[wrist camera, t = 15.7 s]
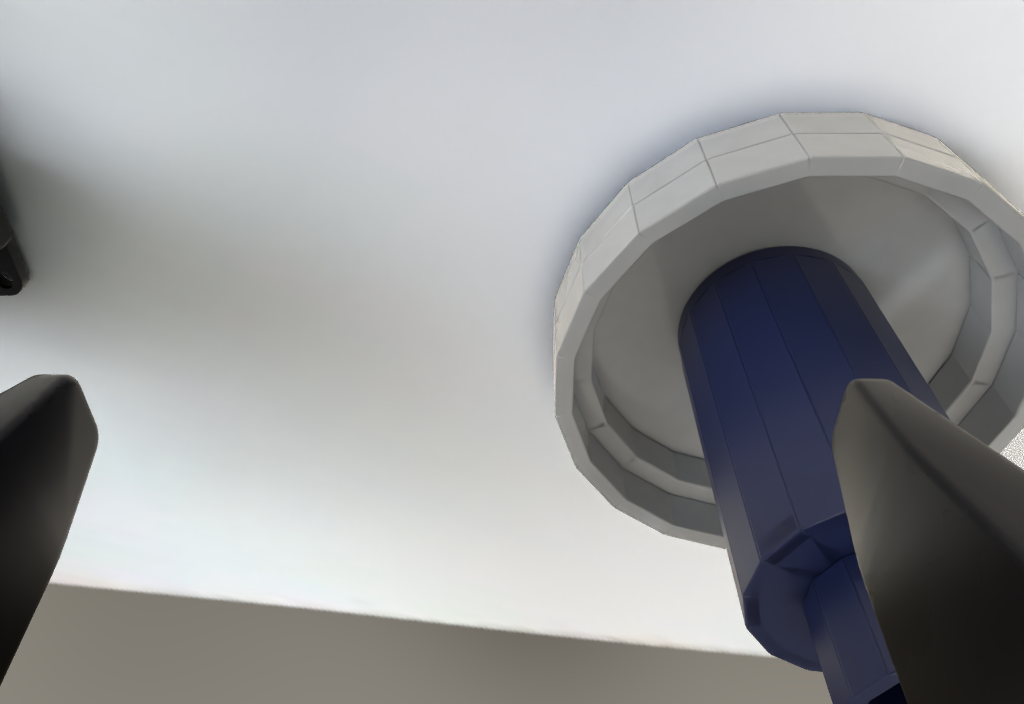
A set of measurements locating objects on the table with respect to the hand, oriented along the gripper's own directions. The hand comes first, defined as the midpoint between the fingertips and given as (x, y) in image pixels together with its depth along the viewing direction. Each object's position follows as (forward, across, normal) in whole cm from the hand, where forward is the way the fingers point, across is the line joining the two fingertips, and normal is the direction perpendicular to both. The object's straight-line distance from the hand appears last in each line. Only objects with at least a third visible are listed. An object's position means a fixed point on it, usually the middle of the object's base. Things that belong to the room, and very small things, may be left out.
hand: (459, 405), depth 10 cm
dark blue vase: (+13, -8, +8) cm, 17 cm away
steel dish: (+13, -8, +8) cm, 17 cm away
